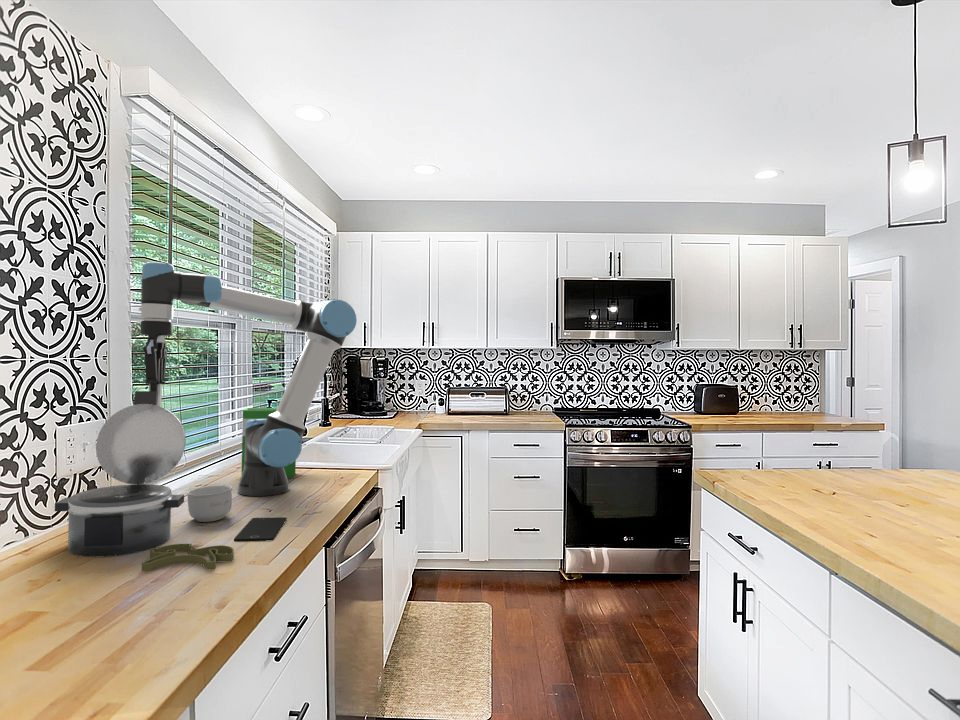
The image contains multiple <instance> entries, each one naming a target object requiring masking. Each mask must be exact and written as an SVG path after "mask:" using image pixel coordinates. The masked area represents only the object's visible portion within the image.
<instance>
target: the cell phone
mask: <svg viewBox="0 0 960 720" xmlns="http://www.w3.org/2000/svg"><path fill="white" fill-rule="evenodd" d="M286 519H287V517H282V516H281V517H279V516H278V517H273V516H272V517H252V518H251V519H250V520H249V521H248V523H246V525H245V526H244V527H243V528H242V529H241V530H240V532H238V534H237V535H235V537H234V539H233V542H267V541H266V540H272V541H274V539H275V538H276V536H277V535H278V534H279V532H280V531H279V530H281V529H282V528H283V526H284V525H283V524H285V523H286V522H287V520H286ZM285 521H286V522H285ZM284 522H285V523H284ZM282 525H283V526H282ZM281 527H282V528H281ZM280 528H281V529H280ZM278 531H279V532H278ZM276 534H277V535H276ZM274 537H275V538H274Z"/></svg>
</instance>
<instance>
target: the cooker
mask: <svg viewBox="0 0 960 720" xmlns="http://www.w3.org/2000/svg"><path fill="white" fill-rule="evenodd" d="M172 493H173V492H172V488H170V487H168V486H167V485H166V486H165V485H160V484H151V483H146V484H120V485H111V486H105V487H97V488H92V489H89V490H83V491H80V492H78V493H75V494H73V495H70V497H65V498H62V499H61V500H59V501H57V502H55V503H54V512H68V529H67V533H68V534H67V551H68V550H69V551H70V552H71V553H70V552H69V551H68V552H69V553H70V554H72V553H73V555H75V554H77V555H76V556H79V555H82V556H81V557H89V556H104V557H113V556H115V555H116V556H123V554H124V555H129V554H128V553H130V554H133V553H134V552H135V553H139V551H140V552H143V551H147V550H150V549H152V548H156V547H158V546H161V545H162V544H165V543H166V542H168V541H169V540H170V538H171V526H172V525H171V523H172V521H171V520H172V519H171V518H172V509H174V508H180V506H181V505H183V504H184V503H185V494H172Z"/></svg>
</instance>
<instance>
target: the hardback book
mask: <svg viewBox="0 0 960 720" xmlns="http://www.w3.org/2000/svg"><path fill="white" fill-rule="evenodd" d="M277 408H278V407H245V408H243V410H242V432H241V433H242V436H241V437H242V438H241V476H242V473H243V470H244V465H245V426H246V422H247V421H248V420H256V419H267V417H268V415H269V414H272V413H274V412H275V411H276V410H277ZM296 460H297V459H296ZM296 460H295V461H294V462H293V463H291V464H290V465H288V466H284V470H285V473H286V477H294V476H295V475H296V465H297V463H296V462H297V461H296ZM241 476H240V477H241ZM295 477H296V476H295ZM295 477H294V478H295Z"/></svg>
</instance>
